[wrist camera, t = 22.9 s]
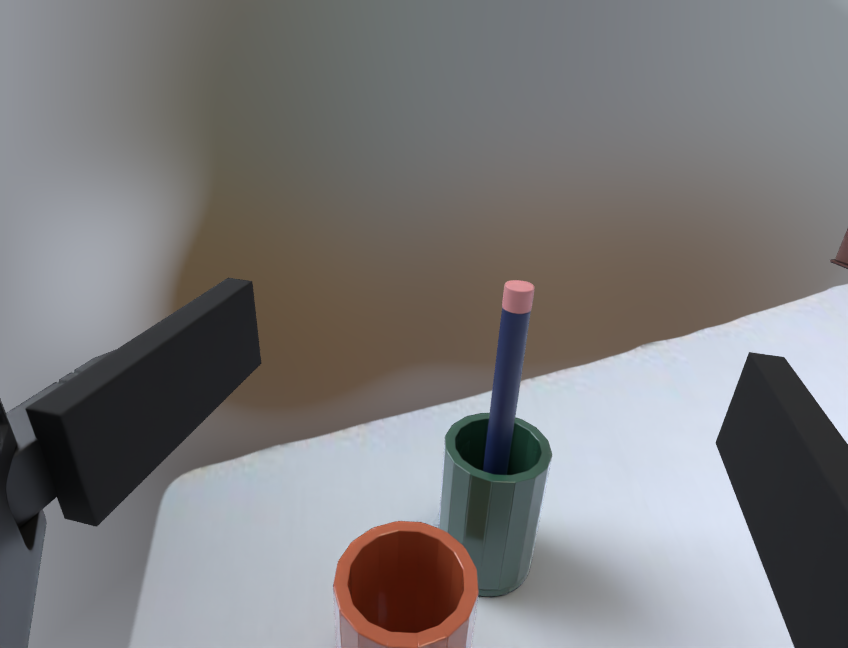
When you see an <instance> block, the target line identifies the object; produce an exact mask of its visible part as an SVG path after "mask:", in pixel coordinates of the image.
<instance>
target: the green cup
mask: <svg viewBox="0 0 848 648" xmlns="http://www.w3.org/2000/svg"><path fill="white" fill-rule="evenodd" d="M489 415H490V413H480V414H475V415H470V416H466V417H464V418H463V419H461V420H459V421H458V422H456V423H454V424H453V425H452V426H451V428H450V429H449V431H448V432H447V434H446V436H445V443H444V457H443V470H442V484H441V497H440V510H439V524H438V528H439V529H442V530H444V531H445V532H447V533H449V534H450V535H451V536H452V537H453V538H455V539H456V540H457V541H458V542H459V543H461V544H462V545H463V546H464V547H465V548H466V550H467V552H468V554H469V556H470V558H471V559H472V561H473V563H474V565H475V567H476V569H477V579H478V591H479V593H478V595H480V596H500V595H504V594H507V593H509V592H512V591H513V590H515V589H517V588H518V587H519V586H520V585H521V584H522V583H523V582H524V581H525V579H526V577H527V576H528V573H529V570H530V565H531V561H532V558H533V553H534V548H535V542H536V537H537V532H538V527H539V522H540V516H541V511H542V506H543V501H544V496H545V490H546V485H547V480H548V475H549V470H550V464H551V459H552V452H551V448H550V445H549V442H548V440H547V439H546V438H545V436H544V435H543V434H542V433H541V432H540V431H539V430H538V429H537V428H536V427H534V426H533V425H531V424H529V423H527V422H526V421H524V420H522V419H519V418H516V417H515V422H514V429H513V436H512V443H511V449H510V456H509V463H508V470H507V475H497V474H491V473H488V472H485V471H483V465H484V457H485V449H486V440H487V432H488V423H489Z"/></svg>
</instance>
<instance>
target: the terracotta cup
mask: <svg viewBox="0 0 848 648" xmlns="http://www.w3.org/2000/svg"><path fill="white" fill-rule="evenodd" d="M478 593H479V591H478V579H477V569H476V567H475V565H474V563H473V561H472V559H471V558H470V556H469V554H468V552H467V550H466V548H465V547H464V546H463V545H462V544H461V543H459V542H458V541H457V540H456V539H455V538H453V537H452V536H451V535H450V534H449V533H447V532H445V531H444V530H442V529H439V528H436V527H434V526H431V525H428V524H426V523H422V522H409V521H397V522H392V523H388V524H384V525H381V526H377V527H374V528H372V529H370V530H369V531H367V532H366V533H364V534H363V535H361V536H360V537H358V538H357V539H355V540H354V541H353V542H351V544H350V545H349V546H348V548H347V549H346V551H345V552H344V554H343V555H342V556H341V558H340V559H339V561H338V564H337V568H336V573H335V578H334V584H333V595H334V614H335V633H336V648H471V646H472V639H473V631H474V623H475V616H476V608H477V601H478Z"/></svg>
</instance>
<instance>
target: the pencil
mask: <svg viewBox="0 0 848 648" xmlns="http://www.w3.org/2000/svg"><path fill="white" fill-rule="evenodd" d="M533 294H534V286H533V285H532V284H531V283H529V282H525V281H520V280H512V281H508V282H506V283H505V286H504V294H503V303H502V315H501V323H500V331H499V340H498V348H497V356H496V365H495V373H494V382H493V390H492V398H491V407H490V415H489V423H488V432H487V440H486V449H485V457H484V465H483V471H485V472H488V473H491V474H497V475H507V470H508V463H509V456H510V449H511V443H512V436H513V429H514V422H515V415H516V408H517V401H518V395H519V388H520V381H521V374H522V367H523V360H524V354H525V346H526V340H527V333H528V326H529V319H530V312H531V308H532V302H533Z"/></svg>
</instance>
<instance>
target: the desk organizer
mask: <svg viewBox="0 0 848 648" xmlns="http://www.w3.org/2000/svg"><path fill="white" fill-rule="evenodd" d="M830 262H831V263H834V264H837V265H839V266H842V267H844V268H846V269H848V229H847V232H846V234H845V236H844V239H843V241H842V244H841V246H840V249H839V251H838V253H837V256H836V259H833V260H830Z"/></svg>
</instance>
